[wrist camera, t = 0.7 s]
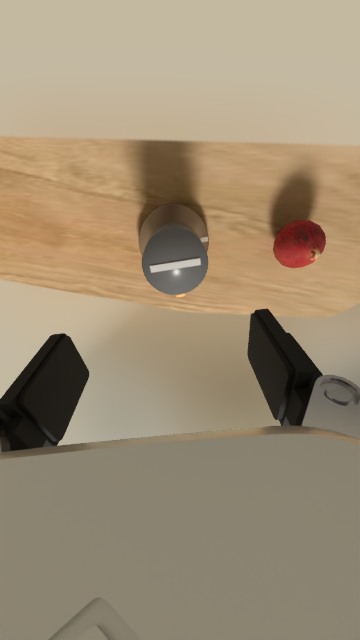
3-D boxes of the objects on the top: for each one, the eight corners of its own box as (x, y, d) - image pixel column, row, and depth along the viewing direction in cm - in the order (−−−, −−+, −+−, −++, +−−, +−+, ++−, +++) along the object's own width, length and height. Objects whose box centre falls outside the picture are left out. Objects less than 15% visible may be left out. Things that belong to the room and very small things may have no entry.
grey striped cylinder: (199, 216, 23) (205, 224, 19) (204, 281, 27) (211, 299, 23) (140, 226, 23) (133, 236, 19) (155, 288, 28) (152, 308, 24)
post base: (204, 197, 26) (210, 200, 22) (209, 268, 32) (215, 281, 28) (132, 210, 27) (125, 215, 23) (148, 277, 32) (145, 291, 28)
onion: (260, 229, 29) (286, 243, 22) (301, 207, 28) (343, 215, 21) (269, 264, 32) (296, 286, 25) (307, 246, 30) (346, 264, 24)
